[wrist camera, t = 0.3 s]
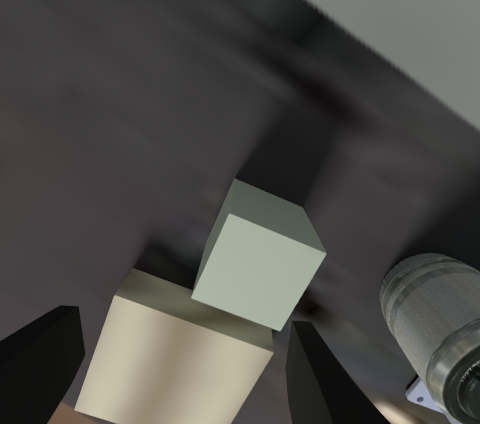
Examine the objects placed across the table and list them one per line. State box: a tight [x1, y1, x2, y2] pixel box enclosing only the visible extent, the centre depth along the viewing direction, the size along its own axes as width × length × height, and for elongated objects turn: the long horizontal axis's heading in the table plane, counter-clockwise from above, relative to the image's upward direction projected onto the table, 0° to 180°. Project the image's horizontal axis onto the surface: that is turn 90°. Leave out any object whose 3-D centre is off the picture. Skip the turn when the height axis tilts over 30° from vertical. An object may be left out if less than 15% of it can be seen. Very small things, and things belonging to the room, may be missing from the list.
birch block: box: [75, 268, 274, 424], centre depth 21 cm, size 10×10×3 cm
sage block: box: [191, 178, 327, 331], centre depth 16 cm, size 4×4×6 cm
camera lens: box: [379, 253, 480, 424], centre depth 17 cm, size 6×6×8 cm
